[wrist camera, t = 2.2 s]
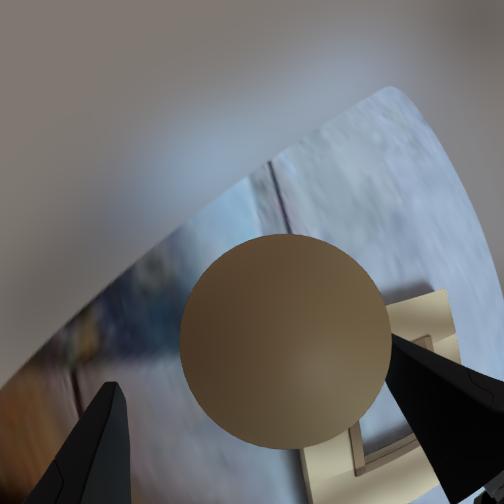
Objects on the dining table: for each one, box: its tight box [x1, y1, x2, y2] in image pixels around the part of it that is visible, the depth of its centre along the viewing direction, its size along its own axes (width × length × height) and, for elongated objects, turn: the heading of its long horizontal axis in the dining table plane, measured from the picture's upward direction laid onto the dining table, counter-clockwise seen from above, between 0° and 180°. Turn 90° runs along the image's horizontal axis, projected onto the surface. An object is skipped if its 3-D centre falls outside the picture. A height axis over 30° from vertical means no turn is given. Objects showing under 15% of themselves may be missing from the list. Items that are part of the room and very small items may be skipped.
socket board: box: [299, 289, 461, 504], centre depth 16 cm, size 16×14×1 cm
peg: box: [179, 234, 392, 450], centre depth 11 cm, size 4×4×13 cm
